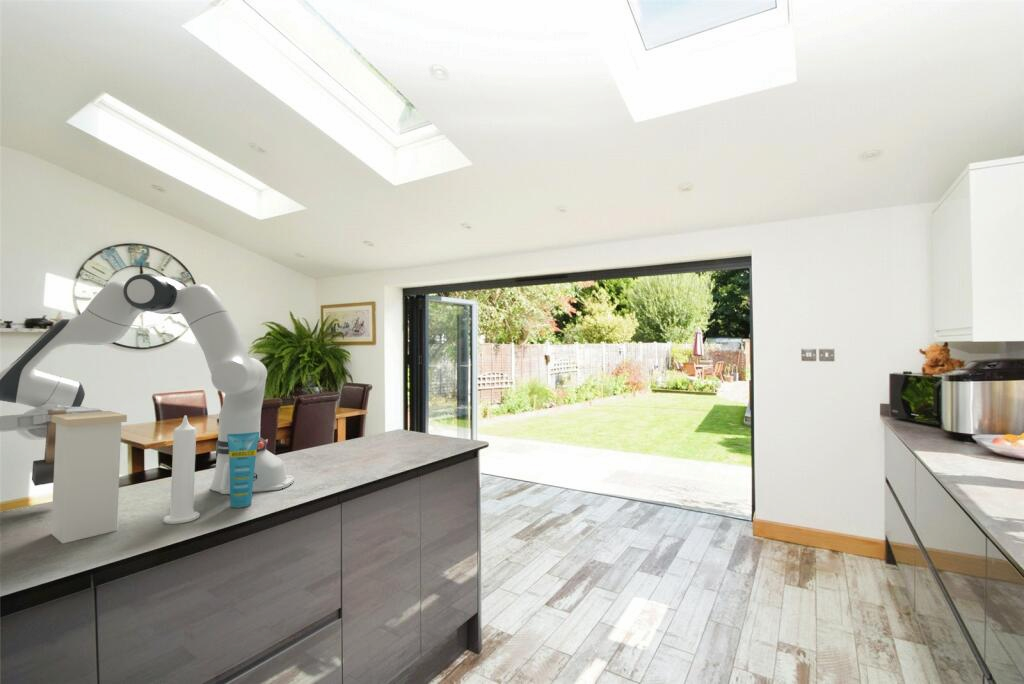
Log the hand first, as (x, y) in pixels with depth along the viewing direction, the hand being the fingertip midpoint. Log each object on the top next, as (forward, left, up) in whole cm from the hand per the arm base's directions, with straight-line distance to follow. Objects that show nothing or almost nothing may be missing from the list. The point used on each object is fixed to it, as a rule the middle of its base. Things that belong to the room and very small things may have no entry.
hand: (59, 417), depth 117 cm
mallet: (+4, -4, -7) cm, 9 cm away
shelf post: (-16, +16, -24) cm, 33 cm away
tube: (-43, +1, -24) cm, 49 cm away
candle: (-33, +10, -24) cm, 42 cm away
